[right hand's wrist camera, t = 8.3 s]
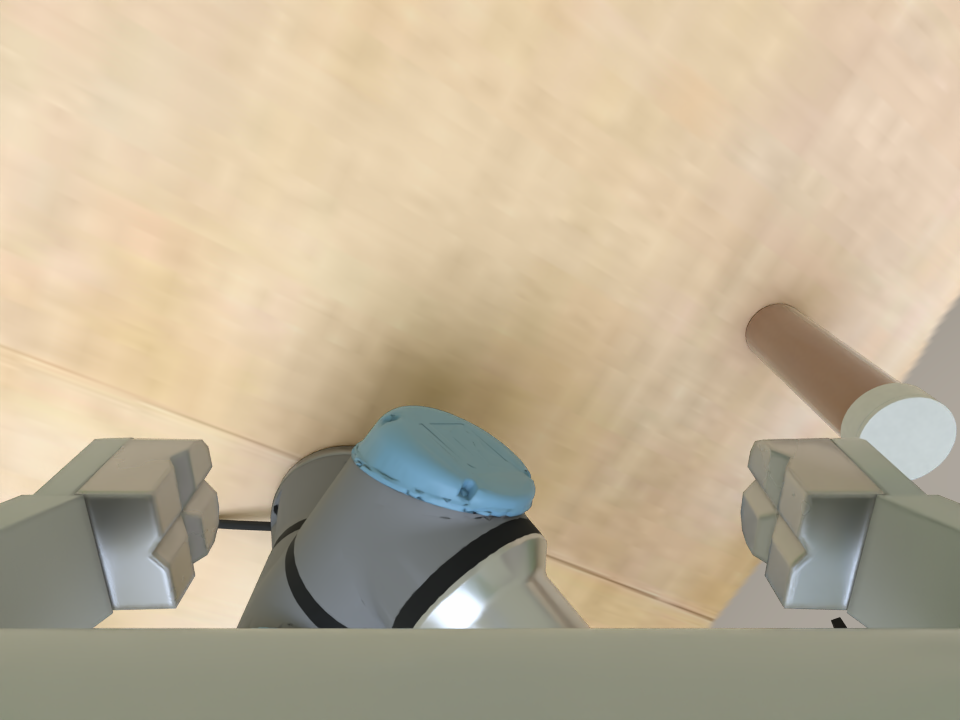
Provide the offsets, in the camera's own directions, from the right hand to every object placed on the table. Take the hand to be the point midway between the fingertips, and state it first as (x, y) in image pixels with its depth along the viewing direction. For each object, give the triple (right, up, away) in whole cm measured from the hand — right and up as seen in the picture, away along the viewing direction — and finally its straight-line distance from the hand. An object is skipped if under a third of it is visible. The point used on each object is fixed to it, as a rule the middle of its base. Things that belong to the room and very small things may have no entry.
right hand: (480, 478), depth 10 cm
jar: (+26, +4, +50) cm, 57 cm away
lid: (+26, -3, +32) cm, 41 cm away
